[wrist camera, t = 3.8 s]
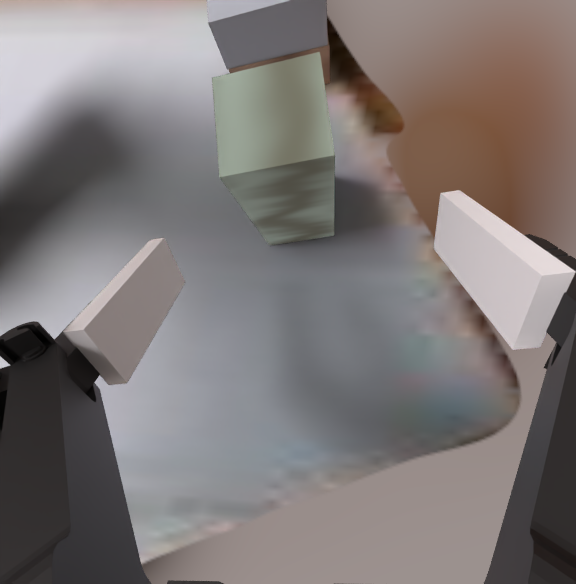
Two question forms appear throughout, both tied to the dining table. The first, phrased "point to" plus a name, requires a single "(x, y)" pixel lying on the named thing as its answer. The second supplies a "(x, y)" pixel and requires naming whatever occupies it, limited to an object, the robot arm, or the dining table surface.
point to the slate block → (266, 28)
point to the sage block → (278, 147)
